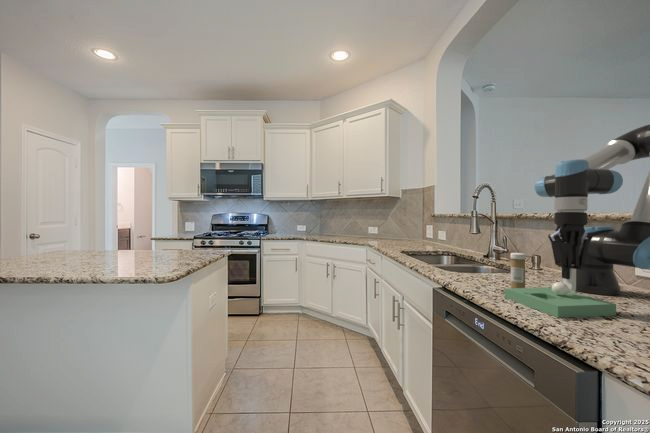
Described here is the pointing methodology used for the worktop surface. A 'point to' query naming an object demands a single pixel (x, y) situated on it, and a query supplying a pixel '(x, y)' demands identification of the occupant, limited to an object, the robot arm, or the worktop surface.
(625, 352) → the worktop surface
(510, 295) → the putting board
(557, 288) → the ball
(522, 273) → the sprinkles bottle
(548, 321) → the worktop surface
